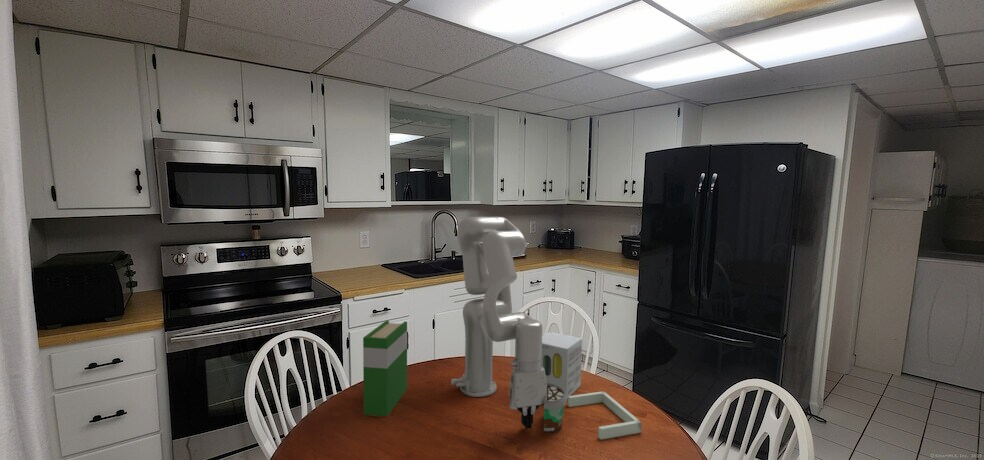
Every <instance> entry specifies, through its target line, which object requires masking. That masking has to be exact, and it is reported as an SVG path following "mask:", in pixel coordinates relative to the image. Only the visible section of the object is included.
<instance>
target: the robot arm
mask: <svg viewBox="0 0 984 460" xmlns="http://www.w3.org/2000/svg"><path fill="white" fill-rule="evenodd" d="M456 234H457V242H458V245H459V248H460V251H461V255H462V262H463V263H462V265H463V266H462V267H463V279H464V287H465V289H466V292H467V294H469V295H471V296H472V295H473V296H482V295H484V296H483V298H476V299H472V300H469V301H467V302H466V303H465V304H464V306H463V307H462V318H463V324H464V333H465V335H464V337H465V340H464V341H465V342H464V345H465V346H464V349H465V350H464V351H465V353H464V356H465V358H464V359H465V360H464V373H463V374H462V377H461V376H460V378H452V379H451V380H450V381H451V386H456V388H460V391H461V392H462V393H463V394H464V395H466V396H470V397H474V398H475V397H477V398H481V397H483V398H484V397H488V396H490V395H493V394H495V392H497V383H496V382H495V381H494V380H493V362H494V361H493V360H494V359H493V356H494V355H493V354H494V353H493V351H494V349H493V348H494V345H493V344H494V342H495V343H500V342H507V341H511V340H515V344H514V345H515V347H514V348H515V351H514V352H515V355H514V359H513V360H511V361H510V362H509V364H510V366H511V367H512V369H511V370H512V371H511V373H510V381H509V404H508V407H509V408H510V410H518V411H519V412H520V414H521V417H520V418H521V421H520V422H521V425H523V427H524V428H525V429H526V430H529V429H532V427H533V424H534V415H535V413H536V411H537V410H538V408H539V407H542V406H544V401H547V384H546V375H545V370H544V368H543V367H542V335H543V324H542V323H541V321H539V320H537V319H534V318H533V317H531V316H530V315H529V314H528V313H526V312H522V311H521V312H520V311H519V312H513V308H512V306H513V305H512V296H511V295H512V294H511V293H512V292H511V284H513V283H514V282H515V281H516V280H517V279H518V278H517V277H518V275H517V271H516V268H515V263H514V257H519V256H522V255H523V254H524V253H525V252H526V250H527V241H526V238H525V236H524V234H523V232H521V230H520V229H519V228H518V227H517V226H515V225H514V224H513V223H512V222H510V220H508V219H507V218H505V217H503V216H470V217H469V216H468V217H465V218H462V219H461V221H460V222H459V223H458V226H457V232H456ZM480 242H482V245H481V243H480Z"/></svg>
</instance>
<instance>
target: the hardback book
mask: <svg viewBox="0 0 984 460" xmlns="http://www.w3.org/2000/svg"><path fill="white" fill-rule="evenodd" d="M362 339H363V340H362V342H363V343H362V345H363V346H362V349H363V350H362V351H363V355H362V356H363V357H362V359H363V363H362V365H363V369H362V371H363V372H362V373H363V378H362V379H363V415H364V414H365V415H364V416H369V415H376V416H375V417H380V416H388V417H389V415H390V414H391V412H392V411H393V410H394V408H395V407H396V406H397V405H398V403H399V402H398V401H400V400H401V399H402V397H403V396H404V395H405V393H406V392H407V391H408V321H403V322H402V323H393V322H390V321H389V320H385V321H384V322H382V323H381V324H380V325H378V326H377V327H376V328H374V329H372V331H370V332H369V333H368V334H366V335H365V336H364V337H363V338H362ZM406 390H407V391H406ZM405 391H406V392H405ZM403 394H404V395H403ZM402 395H403V396H402ZM401 396H402V397H401ZM400 398H401V399H400ZM399 399H400V400H399ZM397 402H398V403H397ZM395 405H396V406H395ZM394 406H395V407H394ZM393 407H394V408H393ZM392 409H393V410H392ZM391 410H392V411H391ZM389 413H390V414H389ZM388 414H389V415H388Z"/></svg>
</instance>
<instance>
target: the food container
mask: <svg viewBox="0 0 984 460" xmlns="http://www.w3.org/2000/svg"><path fill="white" fill-rule="evenodd" d="M567 403H568V399H567V398H566V394H565V391H564V390H563V389H562V388H561V387H559V386H557V385H555V384H551V383H547V401H544V405H543V434H547V435H548V434H555V433H558V432H559V431H561V430H562V427H563V419H564V409H565V405H566V404H567Z"/></svg>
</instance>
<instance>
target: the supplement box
mask: <svg viewBox="0 0 984 460" xmlns="http://www.w3.org/2000/svg"><path fill="white" fill-rule="evenodd" d="M582 346H583V338H582V337H577V336H573V335H572V336H571V335H568V334H563V333H558V332H553V331H548V332H546V333H543V334H542V367H543V368H544V370H545V375H546V384H547V383H551V384H555V385H557V386H559V387H561V388H562V389H563V390H564V391H565V394H566V398H567V400H568V396H573V394H574V393H575V392H576V391H577V390H578V388H580V387H581V385H582V383H581V381H582V380H581V378H582V348H583V347H582Z"/></svg>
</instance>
